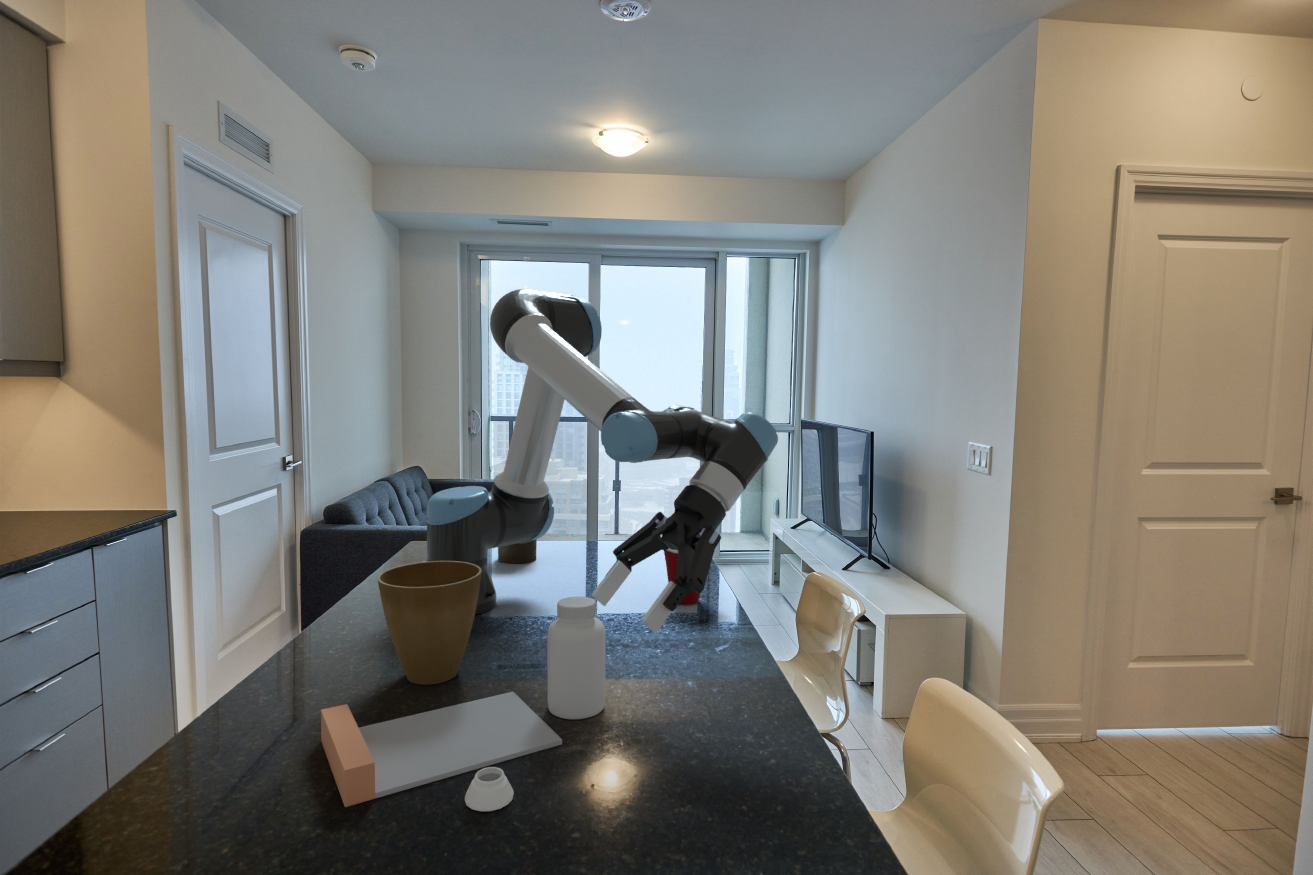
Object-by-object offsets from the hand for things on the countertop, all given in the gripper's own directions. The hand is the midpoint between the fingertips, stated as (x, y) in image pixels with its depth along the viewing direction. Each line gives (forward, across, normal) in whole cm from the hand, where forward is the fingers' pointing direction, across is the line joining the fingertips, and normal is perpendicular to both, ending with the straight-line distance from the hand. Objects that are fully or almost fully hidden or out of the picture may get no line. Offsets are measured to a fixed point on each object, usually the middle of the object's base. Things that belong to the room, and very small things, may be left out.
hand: (621, 613), depth 98 cm
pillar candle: (-5, +83, -23) cm, 86 cm away
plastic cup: (-16, +33, -35) cm, 50 cm away
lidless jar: (+26, -13, +8) cm, 30 cm away
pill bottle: (+14, +1, -4) cm, 14 cm away
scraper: (+26, +2, +9) cm, 28 cm away
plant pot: (+23, +22, +5) cm, 33 cm away
